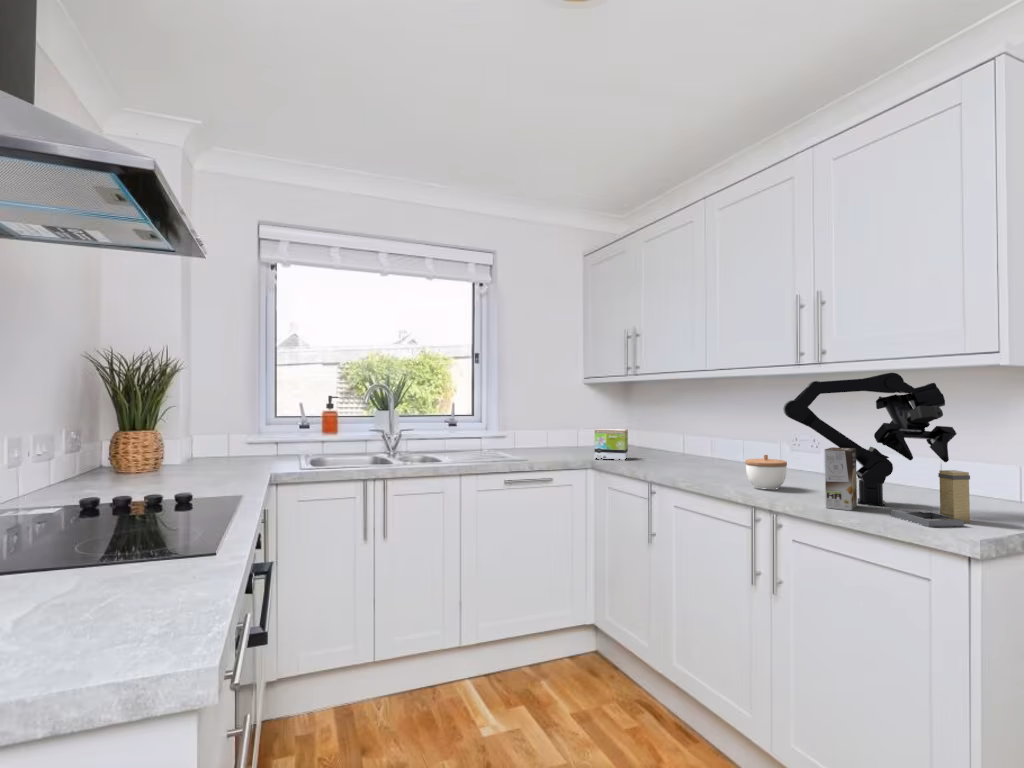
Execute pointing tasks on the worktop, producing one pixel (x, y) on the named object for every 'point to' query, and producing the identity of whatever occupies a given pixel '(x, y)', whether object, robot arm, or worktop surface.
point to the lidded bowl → (766, 472)
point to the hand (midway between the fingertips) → (929, 460)
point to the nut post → (954, 494)
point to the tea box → (611, 443)
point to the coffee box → (840, 478)
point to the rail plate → (919, 517)
